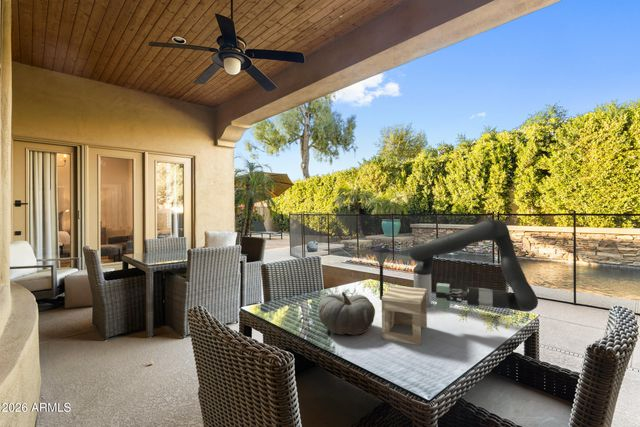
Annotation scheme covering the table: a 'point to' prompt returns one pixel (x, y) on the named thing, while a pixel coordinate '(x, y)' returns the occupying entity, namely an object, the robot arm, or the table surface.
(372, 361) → the table surface
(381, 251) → the solar garden light
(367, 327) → the gourd
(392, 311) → the box
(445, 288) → the block
